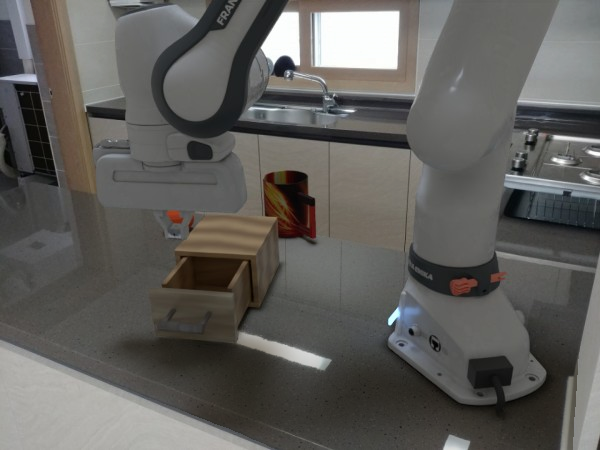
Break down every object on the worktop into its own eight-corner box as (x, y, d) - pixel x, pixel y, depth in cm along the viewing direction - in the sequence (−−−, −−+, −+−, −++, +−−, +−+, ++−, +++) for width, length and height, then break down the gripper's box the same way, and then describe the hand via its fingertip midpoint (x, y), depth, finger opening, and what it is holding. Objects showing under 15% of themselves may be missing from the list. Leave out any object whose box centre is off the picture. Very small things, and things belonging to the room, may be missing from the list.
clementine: (157, 229, 120) (153, 199, 118) (187, 221, 124) (183, 192, 121) (170, 241, 114) (166, 210, 111) (200, 233, 118) (197, 203, 115)
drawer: (226, 363, 74) (221, 315, 71) (141, 355, 77) (133, 308, 73) (260, 292, 92) (257, 251, 89) (190, 287, 94) (185, 247, 91)
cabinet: (259, 307, 89) (255, 255, 85) (181, 301, 91) (174, 250, 88) (279, 263, 103) (277, 217, 99) (211, 259, 106) (206, 213, 102)
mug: (314, 244, 111) (313, 189, 106) (257, 233, 117) (254, 181, 112) (333, 227, 118) (333, 175, 114) (279, 217, 124) (277, 168, 120)
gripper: (77, 145, 68) (97, 243, 73) (232, 148, 64) (241, 251, 70) (102, 133, 74) (119, 225, 79) (246, 135, 70) (253, 231, 76)
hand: (177, 237), depth 74 cm, fingers closed
